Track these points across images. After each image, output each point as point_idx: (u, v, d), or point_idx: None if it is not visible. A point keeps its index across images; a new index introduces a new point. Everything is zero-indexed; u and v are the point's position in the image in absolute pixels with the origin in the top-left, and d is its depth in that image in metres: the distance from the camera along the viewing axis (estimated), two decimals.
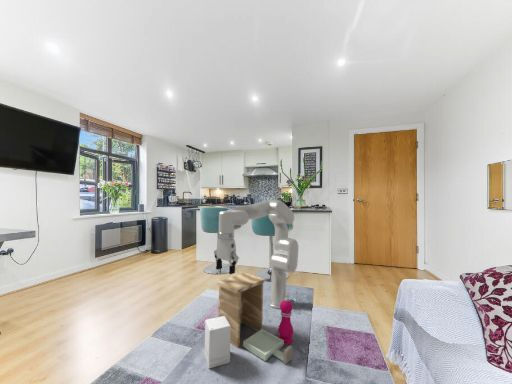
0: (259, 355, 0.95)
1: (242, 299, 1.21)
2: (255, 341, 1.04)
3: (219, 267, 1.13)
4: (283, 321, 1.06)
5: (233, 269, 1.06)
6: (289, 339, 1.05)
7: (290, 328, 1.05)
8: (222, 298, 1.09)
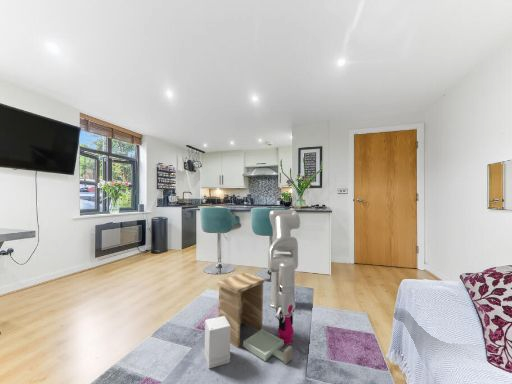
0: (259, 355, 0.95)
1: (242, 299, 1.21)
2: (255, 341, 1.04)
3: None
4: None
5: None
6: (289, 339, 1.05)
7: (290, 328, 1.05)
8: (222, 298, 1.09)
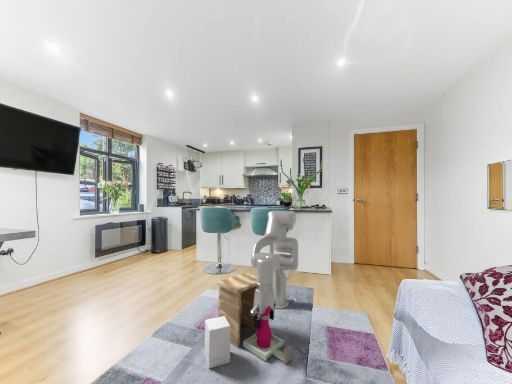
0: (259, 355, 0.95)
1: (242, 299, 1.21)
2: (255, 341, 1.04)
3: None
4: (261, 324, 1.01)
5: None
6: (267, 343, 1.00)
7: (268, 331, 1.00)
8: (222, 298, 1.09)
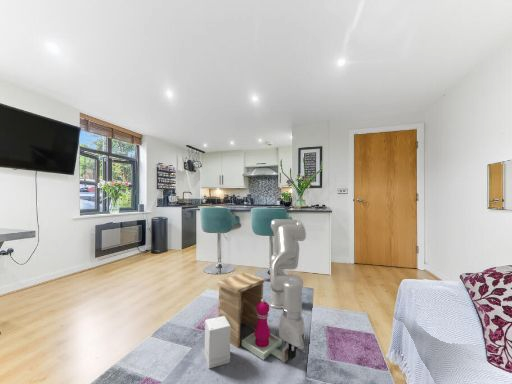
0: (257, 354, 0.96)
1: (242, 299, 1.21)
2: (253, 340, 1.04)
3: None
4: (259, 323, 1.01)
5: None
6: (265, 342, 1.00)
7: (266, 330, 1.01)
8: (222, 298, 1.09)
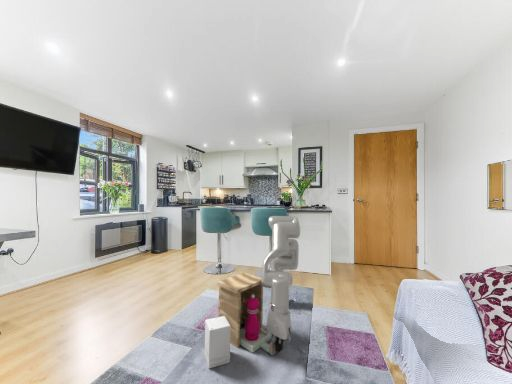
0: (247, 347, 1.00)
1: (242, 299, 1.21)
2: (244, 334, 1.09)
3: None
4: (249, 318, 1.06)
5: None
6: (255, 336, 1.05)
7: (256, 325, 1.05)
8: (222, 298, 1.09)
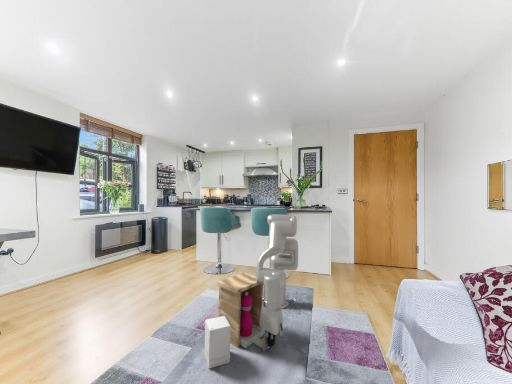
0: (240, 343, 1.03)
1: None
2: None
3: None
4: (242, 314, 1.09)
5: None
6: (248, 332, 1.07)
7: (249, 321, 1.08)
8: (222, 298, 1.09)
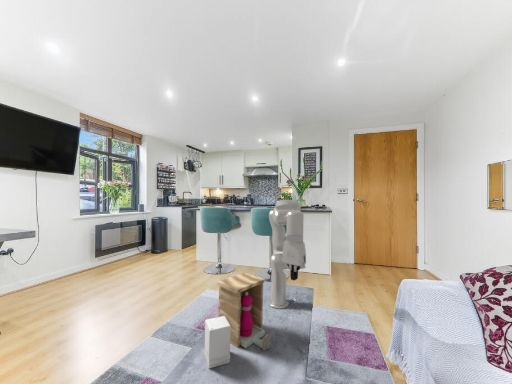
0: (240, 343, 1.03)
1: None
2: None
3: None
4: (243, 314, 1.08)
5: None
6: (248, 332, 1.07)
7: (249, 321, 1.08)
8: (222, 298, 1.09)
